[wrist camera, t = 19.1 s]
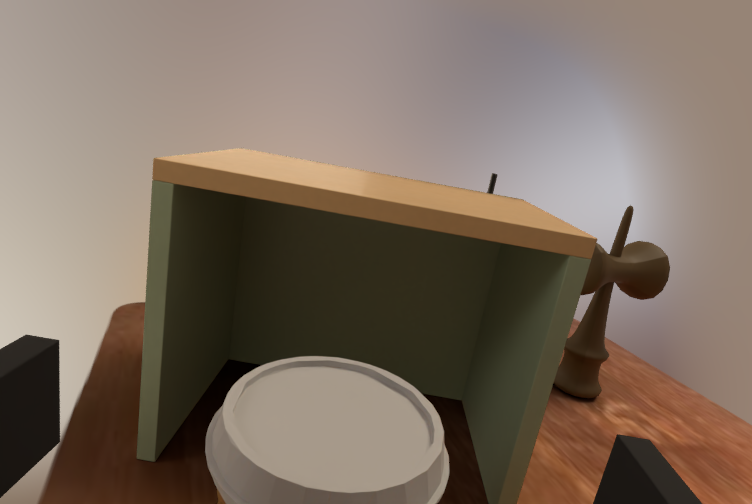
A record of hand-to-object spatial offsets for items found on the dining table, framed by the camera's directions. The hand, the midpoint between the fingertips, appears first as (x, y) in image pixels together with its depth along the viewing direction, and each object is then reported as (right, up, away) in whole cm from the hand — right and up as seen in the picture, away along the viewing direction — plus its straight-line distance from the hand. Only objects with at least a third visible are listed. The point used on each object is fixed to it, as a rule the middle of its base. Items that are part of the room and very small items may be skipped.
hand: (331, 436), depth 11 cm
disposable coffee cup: (-3, -13, +10) cm, 17 cm away
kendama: (+22, -10, +39) cm, 46 cm away
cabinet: (-2, -9, +26) cm, 28 cm away
